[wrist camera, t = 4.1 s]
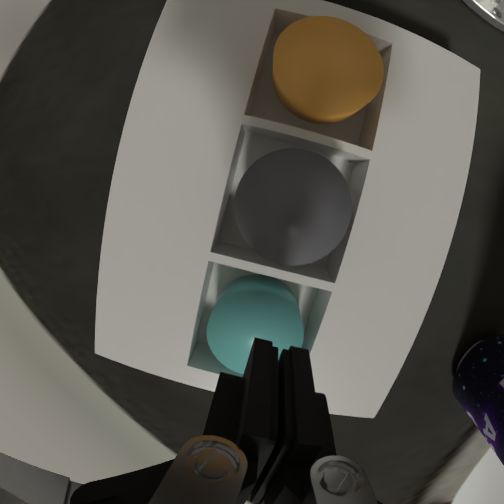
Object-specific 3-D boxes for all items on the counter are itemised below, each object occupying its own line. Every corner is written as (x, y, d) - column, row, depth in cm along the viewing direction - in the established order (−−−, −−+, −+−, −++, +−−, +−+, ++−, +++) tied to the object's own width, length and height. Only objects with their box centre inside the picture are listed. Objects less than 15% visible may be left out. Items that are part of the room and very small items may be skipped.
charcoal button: (253, 143, 14) (250, 134, 11) (348, 169, 14) (364, 167, 11) (229, 238, 14) (222, 249, 12) (322, 261, 15) (333, 277, 12)
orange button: (284, 29, 12) (286, 4, 10) (372, 56, 12) (390, 36, 10) (261, 109, 13) (260, 95, 11) (356, 136, 13) (373, 128, 11)
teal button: (224, 264, 16) (217, 279, 14) (309, 285, 16) (316, 303, 14) (207, 339, 17) (199, 363, 14) (285, 358, 17) (287, 383, 15)
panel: (189, 6, 14) (176, -21, 11) (453, 81, 14) (480, 69, 11) (116, 330, 18) (94, 353, 15) (362, 388, 18) (373, 418, 15)
